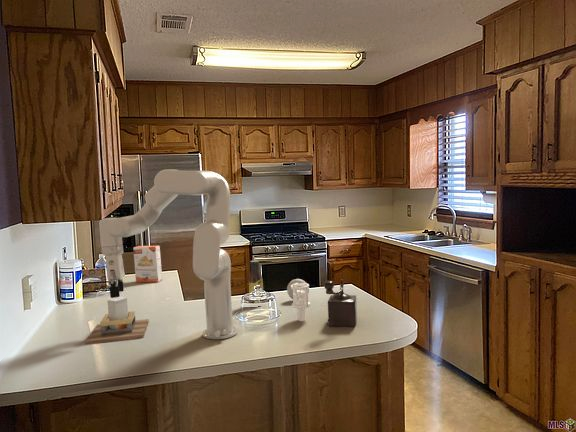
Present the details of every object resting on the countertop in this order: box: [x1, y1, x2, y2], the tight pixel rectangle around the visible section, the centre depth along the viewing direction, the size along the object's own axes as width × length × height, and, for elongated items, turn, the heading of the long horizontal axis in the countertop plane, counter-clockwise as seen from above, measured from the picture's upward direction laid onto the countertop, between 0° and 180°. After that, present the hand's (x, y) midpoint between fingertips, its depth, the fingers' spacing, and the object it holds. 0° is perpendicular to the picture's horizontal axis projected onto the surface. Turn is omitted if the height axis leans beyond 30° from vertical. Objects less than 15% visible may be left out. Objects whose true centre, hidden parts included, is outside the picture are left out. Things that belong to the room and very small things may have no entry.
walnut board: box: [85, 318, 150, 345], centre depth 181 cm, size 20×20×1 cm
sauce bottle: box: [248, 259, 264, 294], centre depth 209 cm, size 6×6×20 cm
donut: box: [286, 278, 310, 300], centre depth 213 cm, size 10×3×10 cm, turn 86°
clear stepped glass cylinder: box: [291, 282, 311, 322], centre depth 184 cm, size 7×7×15 cm
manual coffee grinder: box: [323, 279, 358, 328], centre depth 175 cm, size 16×11×18 cm
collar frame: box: [99, 311, 137, 335], centre depth 181 cm, size 11×11×5 cm
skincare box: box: [107, 296, 129, 329], centre depth 181 cm, size 6×4×12 cm
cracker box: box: [132, 245, 163, 283], centre depth 273 cm, size 14×6×21 cm, turn 80°
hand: (117, 294), depth 180 cm, fingers open, 9 cm apart
